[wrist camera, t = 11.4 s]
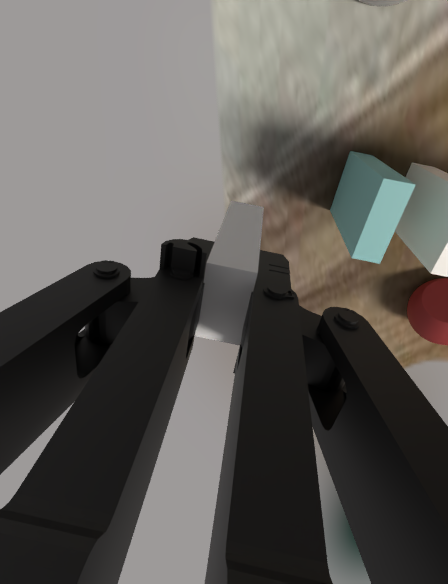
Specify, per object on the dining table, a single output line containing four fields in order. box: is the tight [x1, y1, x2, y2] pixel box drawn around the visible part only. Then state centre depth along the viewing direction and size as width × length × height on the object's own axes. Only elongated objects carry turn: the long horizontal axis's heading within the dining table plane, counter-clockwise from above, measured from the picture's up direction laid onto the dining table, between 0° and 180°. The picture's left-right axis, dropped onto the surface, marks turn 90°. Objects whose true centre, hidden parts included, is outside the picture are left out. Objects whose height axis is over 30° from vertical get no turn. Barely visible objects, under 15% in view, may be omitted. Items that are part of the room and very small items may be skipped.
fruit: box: [407, 278, 448, 345], centre depth 31 cm, size 6×6×8 cm
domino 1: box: [330, 151, 416, 264], centre depth 24 cm, size 2×5×10 cm, turn 171°
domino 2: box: [395, 163, 448, 277], centre depth 24 cm, size 2×5×10 cm, turn 171°
